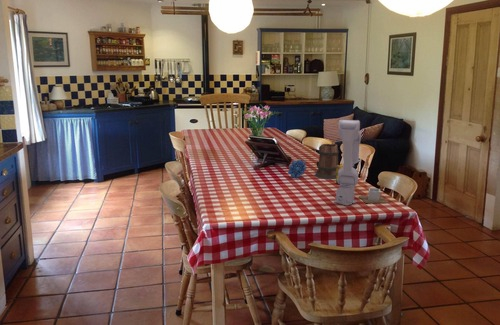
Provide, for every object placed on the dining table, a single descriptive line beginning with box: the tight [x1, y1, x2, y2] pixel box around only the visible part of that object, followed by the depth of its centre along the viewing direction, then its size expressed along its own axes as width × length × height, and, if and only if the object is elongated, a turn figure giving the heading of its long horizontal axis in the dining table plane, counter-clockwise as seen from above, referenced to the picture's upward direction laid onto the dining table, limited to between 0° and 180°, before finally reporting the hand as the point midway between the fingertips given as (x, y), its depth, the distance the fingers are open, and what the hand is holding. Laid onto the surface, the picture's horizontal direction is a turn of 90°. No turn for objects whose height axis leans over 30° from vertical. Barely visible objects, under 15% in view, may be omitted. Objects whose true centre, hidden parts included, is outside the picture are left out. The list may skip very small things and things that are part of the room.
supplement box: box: [335, 164, 343, 184], centre depth 269 cm, size 6×6×11 cm
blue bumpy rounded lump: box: [287, 158, 308, 179], centre depth 282 cm, size 12×7×12 cm, turn 98°
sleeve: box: [367, 187, 381, 201], centre depth 238 cm, size 6×6×5 cm
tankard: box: [314, 143, 340, 180], centre depth 289 cm, size 24×17×20 cm
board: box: [358, 195, 390, 204], centre depth 239 cm, size 12×12×4 cm
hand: (352, 176), depth 250 cm, fingers open, 7 cm apart
